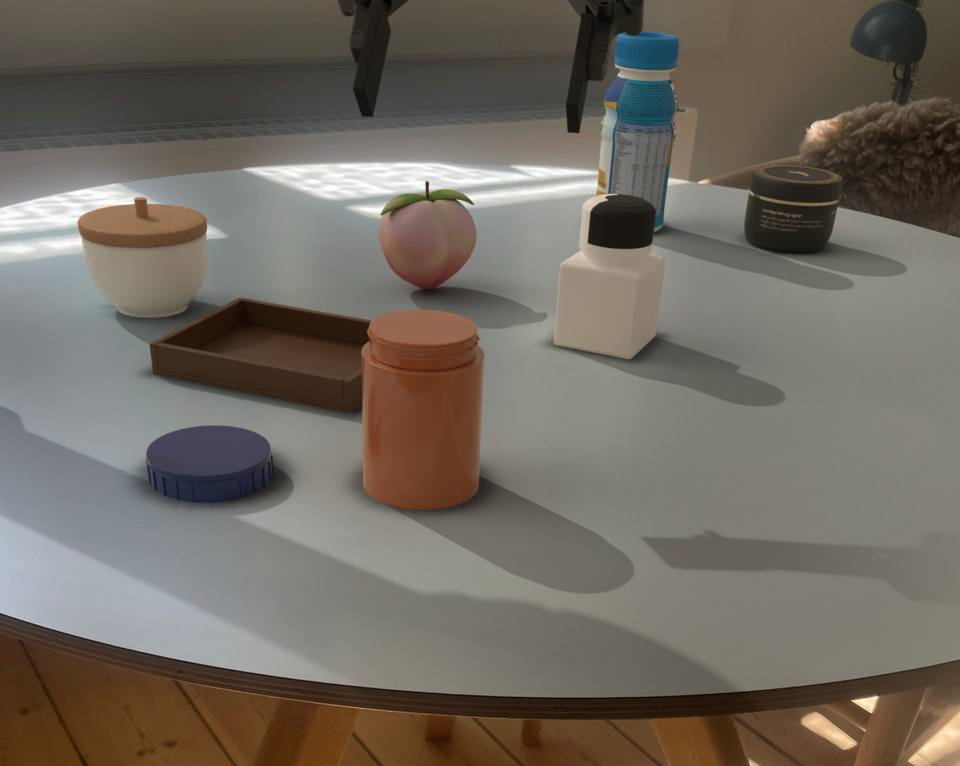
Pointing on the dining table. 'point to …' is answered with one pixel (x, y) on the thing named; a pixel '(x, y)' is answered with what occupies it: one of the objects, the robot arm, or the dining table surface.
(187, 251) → the trinket box
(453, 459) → the honey jar
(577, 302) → the medicine bottle
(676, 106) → the beverage bottle
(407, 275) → the decorative fruit
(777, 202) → the jar
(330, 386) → the tray
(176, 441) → the lid
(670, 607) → the dining table surface
